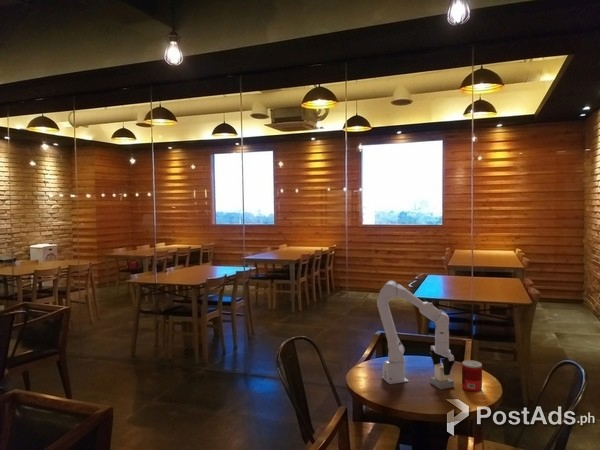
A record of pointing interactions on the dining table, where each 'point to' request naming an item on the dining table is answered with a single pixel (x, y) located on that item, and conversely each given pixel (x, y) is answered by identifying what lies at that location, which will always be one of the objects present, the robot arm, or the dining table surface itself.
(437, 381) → the grey square block
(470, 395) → the dining table surface
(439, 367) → the cream block
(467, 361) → the canned food
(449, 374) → the robot arm
